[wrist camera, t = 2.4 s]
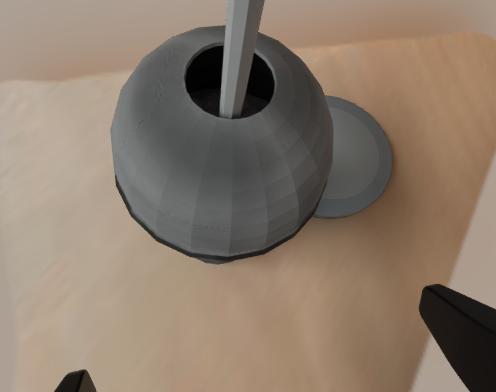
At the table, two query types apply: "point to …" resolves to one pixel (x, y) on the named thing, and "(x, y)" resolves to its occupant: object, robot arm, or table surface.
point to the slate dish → (354, 161)
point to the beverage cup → (222, 140)
